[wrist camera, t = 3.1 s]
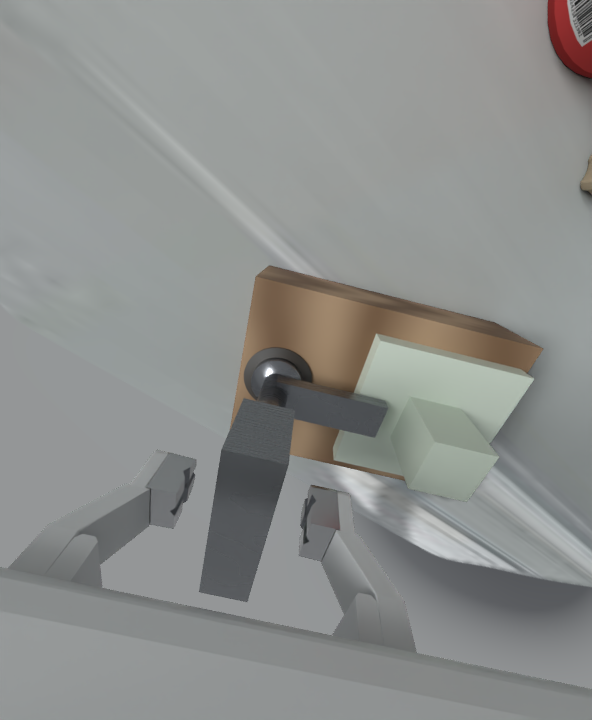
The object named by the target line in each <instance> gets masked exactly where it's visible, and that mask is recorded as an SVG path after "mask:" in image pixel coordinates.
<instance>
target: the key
mask: <svg viewBox="0 0 592 720" xmlns="http://www.w3.org/2000/svg"><path fill="white" fill-rule="evenodd" d="M251 388H252V391H253V393H254V394H255V396H256V397H257V398H258V400H257V401H254V400H250V399H246V398H244V399H243V401H242V403H241V406H240V408H239V410H238V413H237V415H236V417H235V420H234V422H233V424H232V427H231V429H230V431H229V434H228V436H227V438H226V441H225V443H224V445H223V448H222V450H221V457H220V463H219V469H218V476H217V482H216V489H215V495H214V501H213V508H212V513H211V520H210V527H209V532H208V539H207V545H206V552H205V558H204V564H203V571H202V577H201V584H200V590H199V592H201V593H206V594H211V595H216V596H221V597H225V598H230V599H235V600H240V601H245V602H247V601H248V598H249V594H250V591H251V588H252V584H253V581H254V578H255V574H256V571H257V568H258V564H259V561H260V558H261V554H262V551H263V548H264V545H265V541H266V538H267V535H268V531H269V528H270V525H271V521H272V518H273V515H274V511H275V508H276V505H277V501H278V498H279V495H280V491H281V488H282V484H283V481H284V478H285V475H286V471H287V468H288V465H289V456H290V448H291V440H292V431H293V423H294V419H296V420H301V421H305V422H309V423H313V424H318V425H322V426H326V427H330V428H335V429H339V430H343V431H348V432H352V433H356V434H360V435H365V436H369V437H373V438H375V437H376V435H377V433H378V430H379V428H380V426H381V424H382V422H383V419H384V417H385V415H386V413H387V411H388V406H387V403H386V401H385V400H381V399H377V398H373V397H368V396H364V395H360V394H356V393H352V392H347V391H343V390H339V389H335V388H331V387H326V386H322V385H318V384H314V383H310V382H306V381H302V375H301V372H300V370H299V369H298V368H297V366H296V365H295V364H293V363H292V362H291V361H289V360H287V359H283V358H277V357H275V358H269V359H266V360H264V361H262V362H261V363H259V364H258V365H257V367H256V368H255V370H254V372H253V375H252V377H251Z"/></svg>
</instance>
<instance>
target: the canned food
mask: <svg viewBox="0 0 592 720" xmlns="http://www.w3.org/2000/svg"><path fill="white" fill-rule="evenodd" d="M548 27H549V32H550V38H551V41H552V43H553V46H554V48H555V51H556V53H557V55H558V56H559V57H560V59H561V60H562V61H563V63H564V64H565V65H566V66H567V67H569V68H570V69H571V70H572V71H574V72H575V73H577V74H580V75H582V76H585V77H588V78H592V0H548Z"/></svg>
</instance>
